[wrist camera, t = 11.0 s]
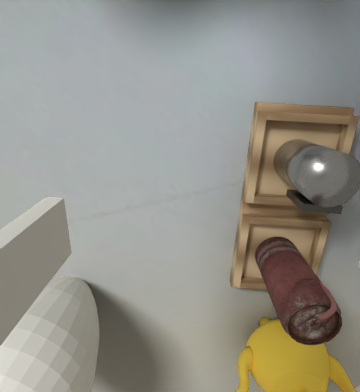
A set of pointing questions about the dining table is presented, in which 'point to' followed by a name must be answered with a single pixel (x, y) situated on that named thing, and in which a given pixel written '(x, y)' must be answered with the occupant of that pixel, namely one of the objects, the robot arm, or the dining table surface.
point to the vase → (53, 342)
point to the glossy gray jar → (317, 175)
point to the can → (297, 293)
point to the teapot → (287, 363)
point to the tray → (283, 184)
